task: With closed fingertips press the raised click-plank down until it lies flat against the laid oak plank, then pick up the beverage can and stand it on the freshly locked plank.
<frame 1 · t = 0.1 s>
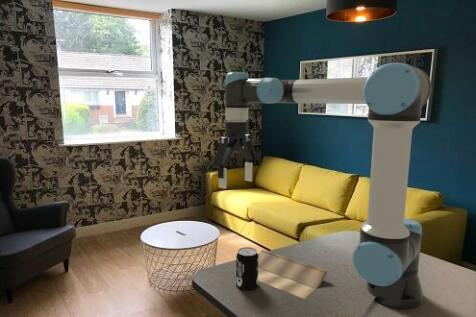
hand: (236, 184, 121), 28 cm above the table, fingers open, 13 cm apart
beverage can: (246, 289, 108), on the table
laid plank: (275, 284, 111), on the table
loose plank: (287, 268, 116), point 2 cm above the table, hinge at 28.0°
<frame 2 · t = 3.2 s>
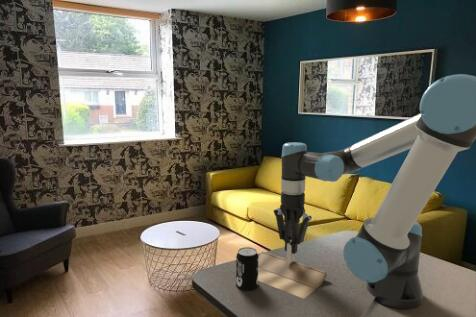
hand: (290, 261, 117), 4 cm above the table, fingers closed
loose plank: (287, 269, 116), point 2 cm above the table, hinge at 21.9°, touching gripper
everything else where it was.
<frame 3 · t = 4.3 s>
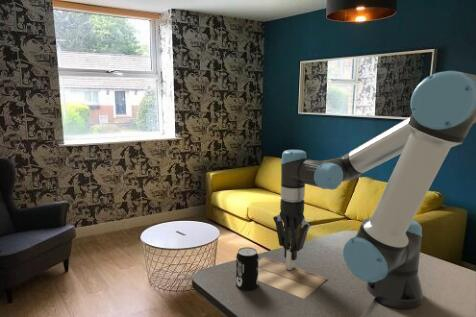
hand: (290, 267, 118), 2 cm above the table, fingers closed
loose plank: (287, 273, 116), point 1 cm above the table, hinge at 2.6°, touching gripper
everything else where it was.
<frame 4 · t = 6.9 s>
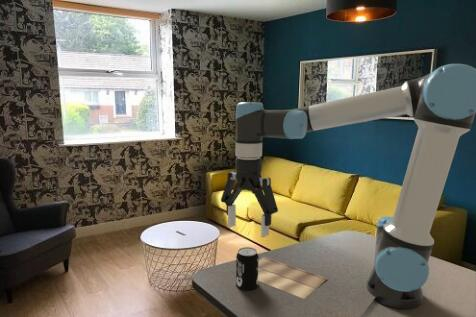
hand: (247, 230, 105), 18 cm above the table, fingers open, 11 cm apart
loose plank: (287, 273, 116), point 1 cm above the table, hinge at 2.6°
everything else where it was.
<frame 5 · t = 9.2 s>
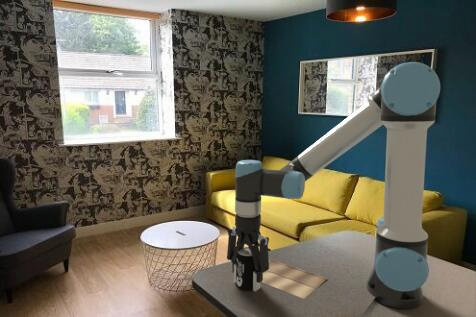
hand: (247, 287, 108), 0 cm above the table, fingers closed on beverage can, 7 cm apart
beverage can: (246, 289, 108), on the table, touching gripper
everything else where it was.
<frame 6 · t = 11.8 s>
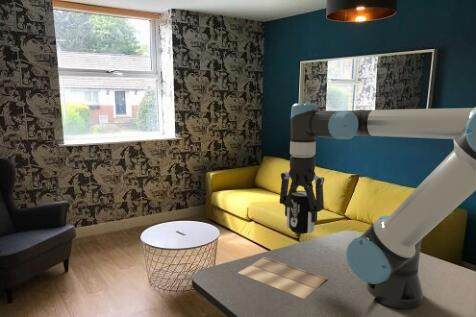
hand: (300, 229, 111), 17 cm above the table, fingers closed on beverage can, 7 cm apart
beverage can: (300, 231, 111), point 16 cm above the table, touching gripper
everything else where it was.
when the fingers open (3 cm above the table, at t = 14.7 s): beverage can drops 1 cm, resting on loose plank.
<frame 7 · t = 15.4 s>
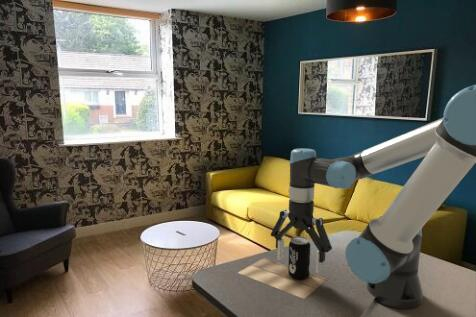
hand: (298, 264, 113), 5 cm above the table, fingers open, 13 cm apart
beverage can: (298, 276, 114), point 1 cm above the table, touching loose plank
loose plank: (287, 273, 116), point 1 cm above the table, hinge at -0.2°, touching beverage can
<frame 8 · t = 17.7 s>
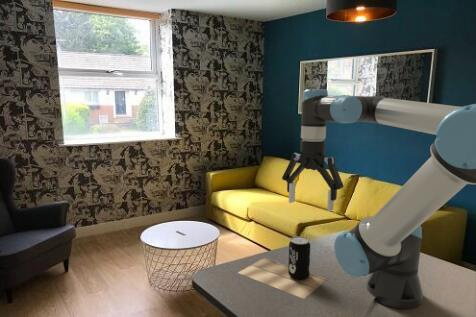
hand: (310, 206, 115), 23 cm above the table, fingers open, 13 cm apart
nothing on the table moved.
at the end: loose plank at +0° (first picture: +28°); beverage can inside the target area (4.1 cm from its centre), point 1.1 cm above the table; beverage can tilted 1° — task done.
